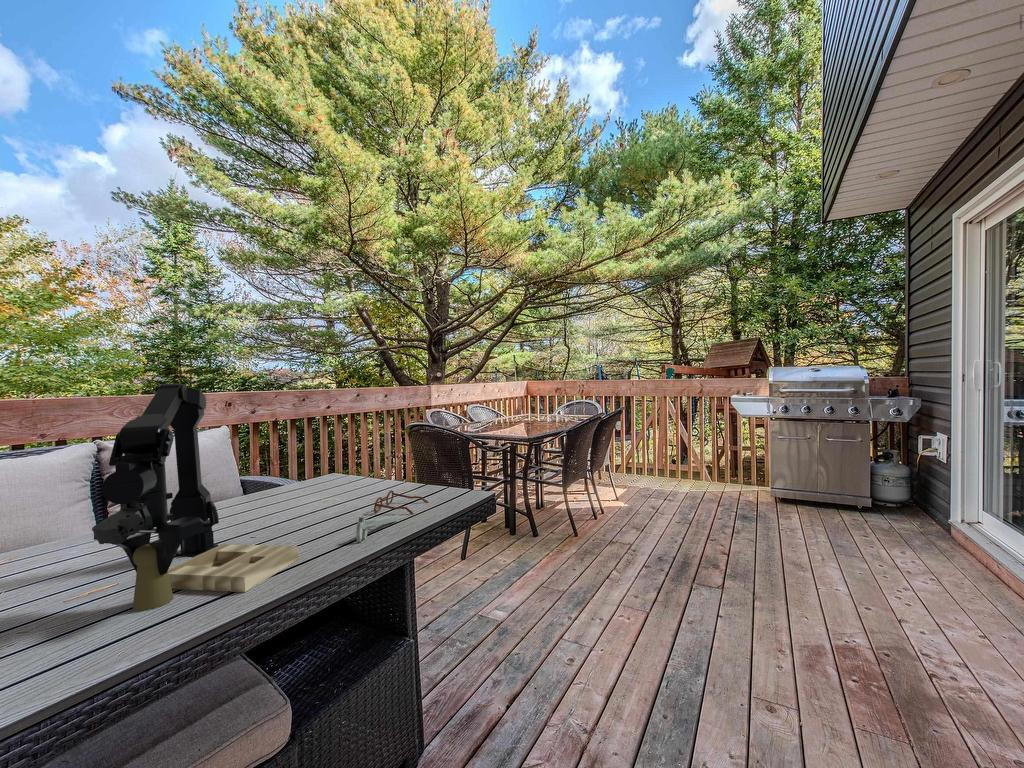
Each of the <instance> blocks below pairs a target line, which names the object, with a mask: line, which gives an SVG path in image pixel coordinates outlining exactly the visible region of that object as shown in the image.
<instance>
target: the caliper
mask: <svg viewBox="0 0 1024 768" xmlns="http://www.w3.org/2000/svg"><path fill="white" fill-rule="evenodd" d="M399 519H400V520H401V519H403V516H401V515H399V514H398V515H397V514H395V515H393V516H387V517H383V518H378V519H377V518H372V519H366V516H361V517H358V521H357V522H356V528H355V529H356V530H355V531H356V542H357V543H362V541H363V540H365V541H366V540H367V536H368V531H373V530H376V527H377V526H383V525H386V524H390V523H394V522H395V523H396V522H398V521H400V520H399Z"/></svg>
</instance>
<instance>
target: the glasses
mask: <svg viewBox="0 0 1024 768" xmlns="http://www.w3.org/2000/svg"><path fill="white" fill-rule="evenodd" d="M390 495H391V499H390V501H389V497H390ZM394 496H395V497H396V496H397V497H402V498H407V499H410V500H411V499H420V500H421V501H423V502H424V503H426V504H427V503H430V502H429V500H427V499H425V498H424V497H422V496H419V495H417V496H416V495H415V496H410V495H406V494H401V493H400V494H399V493H395V491H394V490H389V491H388V493H387V495H386V496H383V497H380V496H379V497H378V498H377V499H376V500H375V502H374V505H373V511H374V513H375V514H377V513H378V511H379V512H380V511H381V509H382V508H387V509H391V510H393V511H394V510H400V509H402V510H405V511H407V512H408V513H409V514H410V515H415V513H414V512H413V511H412V510H411V509H410V508H409V507H407V506H396V507H395V506H390V505H391V504H392V502H393V501H394ZM379 501H380V503H378V502H379ZM383 501H385V503H386V504H383ZM390 503H391V504H390ZM377 507H378V509H377Z"/></svg>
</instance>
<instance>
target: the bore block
mask: <svg viewBox="0 0 1024 768" xmlns="http://www.w3.org/2000/svg"><path fill="white" fill-rule="evenodd" d="M298 549H299V546H296V545H295V546H292V545H291V546H290V545H258V544H256V545H253V544H252V545H251V544H220V545H218V546H217V547H215V548H213V549H211V550H209V551H206V552H204V553H202V554H200V555H198V556H193V557H191V558H189V559H187V560H185V561H183V562H179V563H178V564H175V565H174V566H171V567H169V569H168V575H169V580H170V584H171V589H172V590H185V591H187V590H188V591H206V590H207V591H208V590H209V591H210V592H227V591H231V593H232V592H233V593H247V592H248V591H250V590H251V589H253V588H255V587H256V586H258V585H260V584H261V583H263V582H264V581H266V580H268V579H269V578H271V577H273V576H274V575H276V574H277V573H279V572H280V571H282V570H284V569H285V568H287V567H288V565H289V566H290V565H292V564H294V563H295V562H296V560H297V561H298V560H299V551H298ZM291 563H292V564H291ZM211 590H212V591H211Z"/></svg>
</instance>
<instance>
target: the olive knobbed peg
mask: <svg viewBox="0 0 1024 768" xmlns="http://www.w3.org/2000/svg"><path fill="white" fill-rule="evenodd" d="M133 561H134V563H135V564H136V565H137V573H136V572H135V573H136V575H135V586H134V592H133V593H134V594H133V602H132V610H133V609H134V610H133V611H135V610H137V611H136V612H144V610H146V611H150V610H149V609H151V610H154V609H153V608H155V609H157V608H156V607H158V608H161V607H163V606H165V605H167V604H168V602H169V603H171V602H172V601H173V600H174V594H173V593H174V592H173V589H171V584H170V580H169V575H168V571H167V573H166V574H164V575H160V573H159V569H158V562H157V554H156V549H155V548H154V547H152V546H151V545H149V544H147V545H144V546H141V547H139V548H137V549H136V550H135V552H134V554H133ZM171 600H172V601H171ZM160 606H161V607H160Z"/></svg>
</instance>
